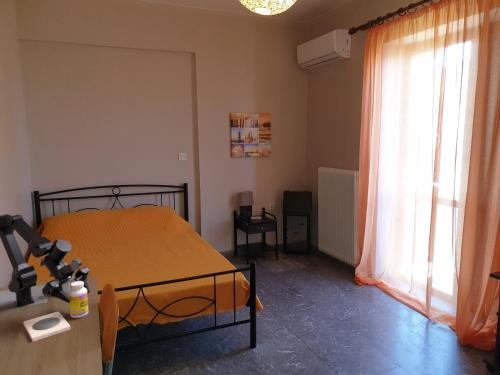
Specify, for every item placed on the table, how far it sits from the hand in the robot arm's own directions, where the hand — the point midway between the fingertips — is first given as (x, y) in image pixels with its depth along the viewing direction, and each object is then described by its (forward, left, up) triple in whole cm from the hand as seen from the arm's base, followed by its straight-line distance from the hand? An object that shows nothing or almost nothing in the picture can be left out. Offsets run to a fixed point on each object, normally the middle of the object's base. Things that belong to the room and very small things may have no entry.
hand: (79, 297), depth 142 cm
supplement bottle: (-1, 0, -7) cm, 8 cm away
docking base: (+1, -12, -7) cm, 14 cm away
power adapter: (-28, +1, -7) cm, 29 cm away
